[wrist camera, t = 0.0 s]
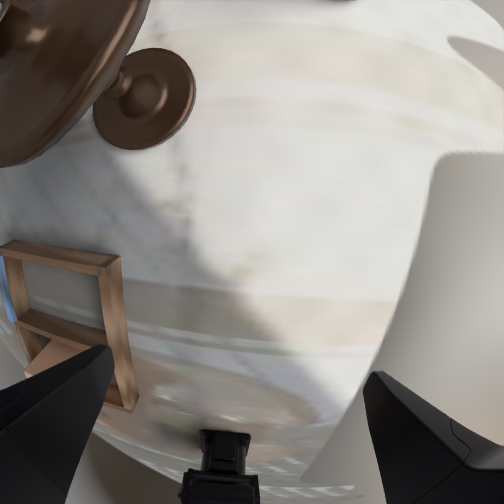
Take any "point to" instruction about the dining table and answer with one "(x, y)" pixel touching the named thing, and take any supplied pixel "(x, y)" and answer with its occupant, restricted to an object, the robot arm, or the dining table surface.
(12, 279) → the frame
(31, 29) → the candlestick
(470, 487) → the robot arm
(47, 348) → the plug block
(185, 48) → the dining table surface
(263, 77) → the dining table surface
